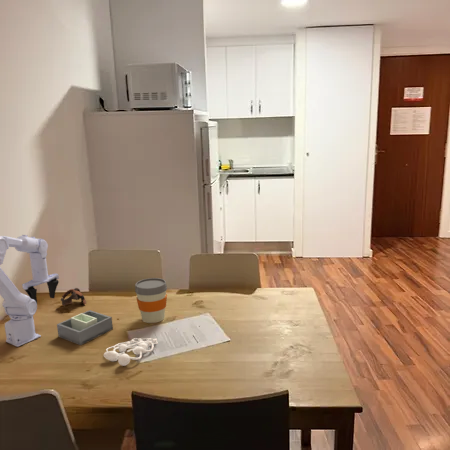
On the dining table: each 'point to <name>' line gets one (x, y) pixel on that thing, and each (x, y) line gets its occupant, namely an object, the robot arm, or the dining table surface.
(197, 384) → the dining table surface
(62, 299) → the pottery mug
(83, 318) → the sage crate
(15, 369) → the dining table surface
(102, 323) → the charcoal crate
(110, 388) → the dining table surface
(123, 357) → the white tangled earphones
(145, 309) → the reusable coffee cup
